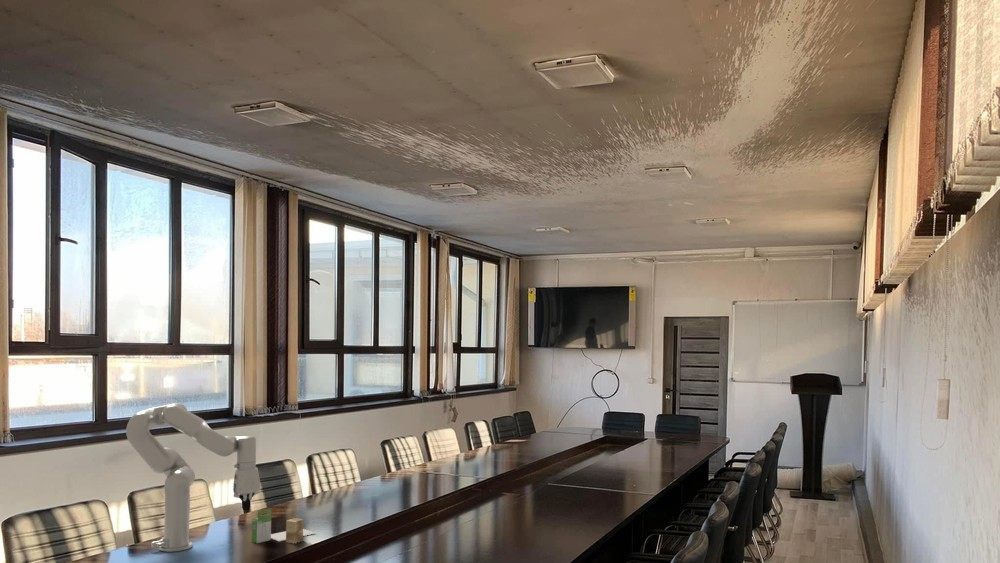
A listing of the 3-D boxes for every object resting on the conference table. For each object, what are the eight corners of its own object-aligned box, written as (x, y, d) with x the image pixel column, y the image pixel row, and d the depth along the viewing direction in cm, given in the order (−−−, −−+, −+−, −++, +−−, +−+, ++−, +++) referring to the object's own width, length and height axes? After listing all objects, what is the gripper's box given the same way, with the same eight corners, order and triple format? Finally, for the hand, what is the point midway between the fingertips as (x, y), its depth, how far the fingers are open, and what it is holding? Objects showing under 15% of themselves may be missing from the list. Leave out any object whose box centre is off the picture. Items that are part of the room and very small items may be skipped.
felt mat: (279, 541, 319) (279, 540, 319) (265, 536, 327) (265, 535, 327) (315, 534, 331) (316, 533, 331) (301, 529, 340) (301, 528, 340)
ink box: (265, 538, 323) (266, 507, 324) (271, 540, 321) (271, 508, 322) (251, 542, 318) (252, 510, 319) (256, 543, 315) (257, 511, 316)
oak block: (294, 543, 316) (295, 521, 317) (285, 542, 318) (286, 520, 319) (303, 540, 320) (303, 519, 321) (294, 539, 323) (294, 518, 323)
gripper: (233, 469, 308) (233, 514, 307) (267, 464, 319) (267, 508, 317) (225, 467, 313) (225, 511, 312) (258, 462, 324) (258, 505, 323)
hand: (246, 509), depth 315 cm, fingers closed
